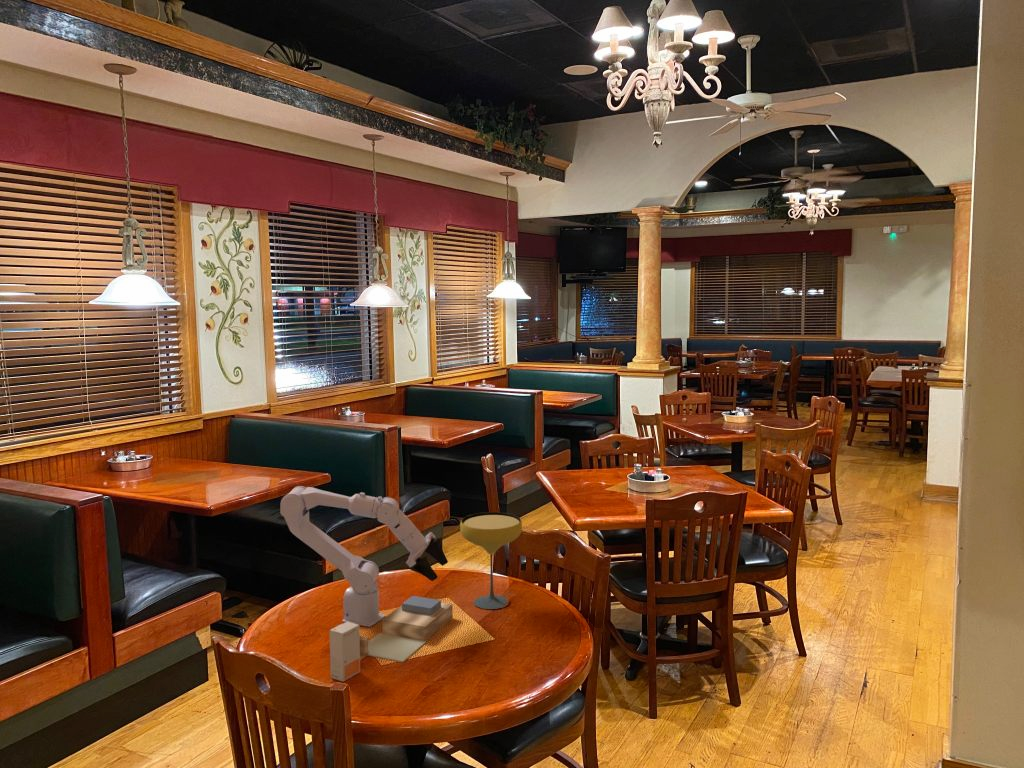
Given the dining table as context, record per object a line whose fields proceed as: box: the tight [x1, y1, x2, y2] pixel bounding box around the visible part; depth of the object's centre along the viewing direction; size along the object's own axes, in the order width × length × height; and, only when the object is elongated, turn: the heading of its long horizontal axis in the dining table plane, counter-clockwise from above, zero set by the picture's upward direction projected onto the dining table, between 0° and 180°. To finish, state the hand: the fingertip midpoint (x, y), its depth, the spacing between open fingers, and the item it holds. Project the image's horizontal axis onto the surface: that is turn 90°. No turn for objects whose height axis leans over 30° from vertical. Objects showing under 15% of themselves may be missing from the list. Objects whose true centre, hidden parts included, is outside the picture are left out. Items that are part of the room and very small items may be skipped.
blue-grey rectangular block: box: [401, 595, 442, 615], centre depth 211 cm, size 9×6×2 cm, turn 68°
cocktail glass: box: [459, 511, 523, 610], centre depth 224 cm, size 18×18×25 cm
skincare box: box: [329, 621, 361, 683], centre depth 182 cm, size 6×4×12 cm
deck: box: [381, 602, 454, 642], centre depth 210 cm, size 13×16×4 cm
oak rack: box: [360, 636, 369, 661], centre depth 191 cm, size 5×6×4 cm
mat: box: [367, 632, 427, 663], centre depth 197 cm, size 14×12×1 cm
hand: (440, 571), depth 213 cm, fingers open, 7 cm apart
